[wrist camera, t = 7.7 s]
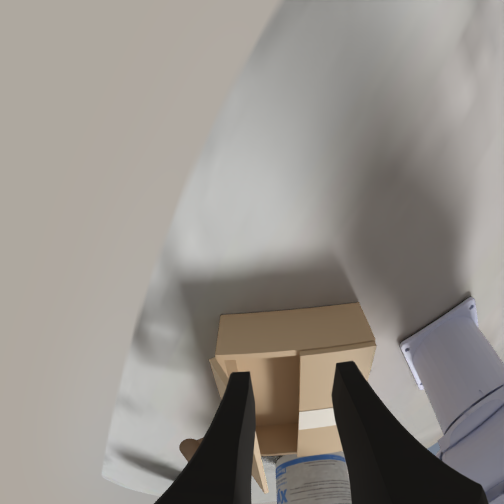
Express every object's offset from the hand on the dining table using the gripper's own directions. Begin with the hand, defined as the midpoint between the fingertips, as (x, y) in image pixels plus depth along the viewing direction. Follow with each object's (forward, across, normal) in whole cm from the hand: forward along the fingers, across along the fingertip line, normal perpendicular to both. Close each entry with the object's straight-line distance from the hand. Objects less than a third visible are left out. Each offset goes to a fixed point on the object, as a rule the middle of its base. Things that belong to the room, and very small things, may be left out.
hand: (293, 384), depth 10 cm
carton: (+10, -1, +12) cm, 16 cm away
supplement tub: (+10, -3, +32) cm, 33 cm away
